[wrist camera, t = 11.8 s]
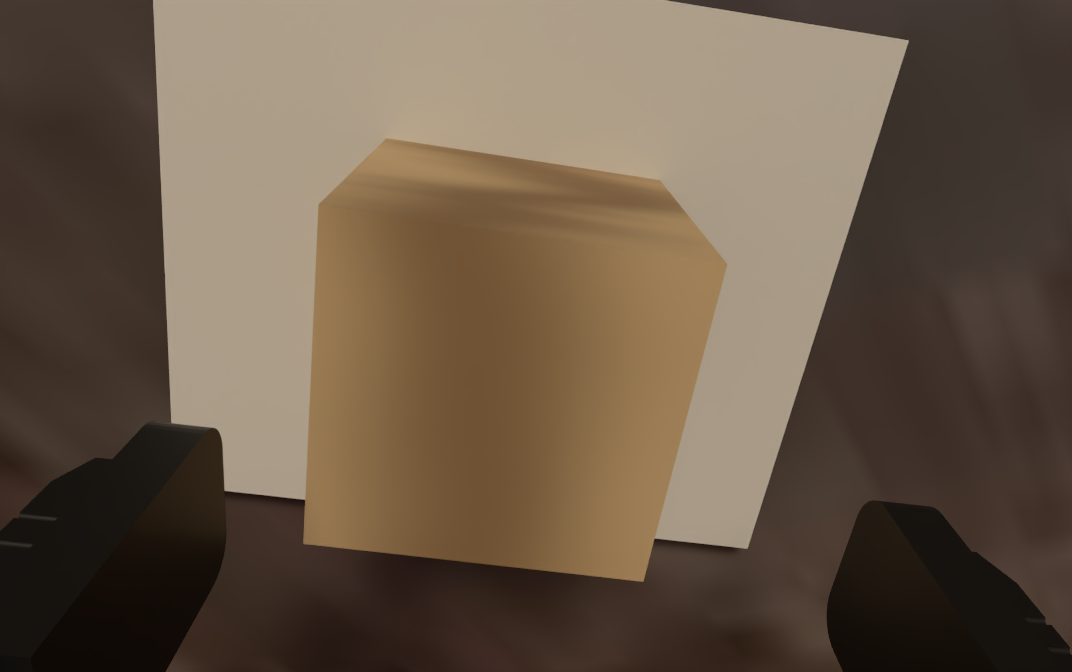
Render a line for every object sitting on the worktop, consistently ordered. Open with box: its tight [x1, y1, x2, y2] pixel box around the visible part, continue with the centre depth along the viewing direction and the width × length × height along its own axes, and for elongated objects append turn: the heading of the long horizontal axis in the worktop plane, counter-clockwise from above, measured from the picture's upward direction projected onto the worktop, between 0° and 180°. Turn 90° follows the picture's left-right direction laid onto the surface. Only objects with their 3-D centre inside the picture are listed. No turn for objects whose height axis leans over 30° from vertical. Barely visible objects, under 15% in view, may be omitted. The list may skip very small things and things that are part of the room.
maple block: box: [303, 138, 727, 582], centre depth 14 cm, size 6×6×6 cm
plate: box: [153, 0, 908, 549], centre depth 17 cm, size 14×12×1 cm
